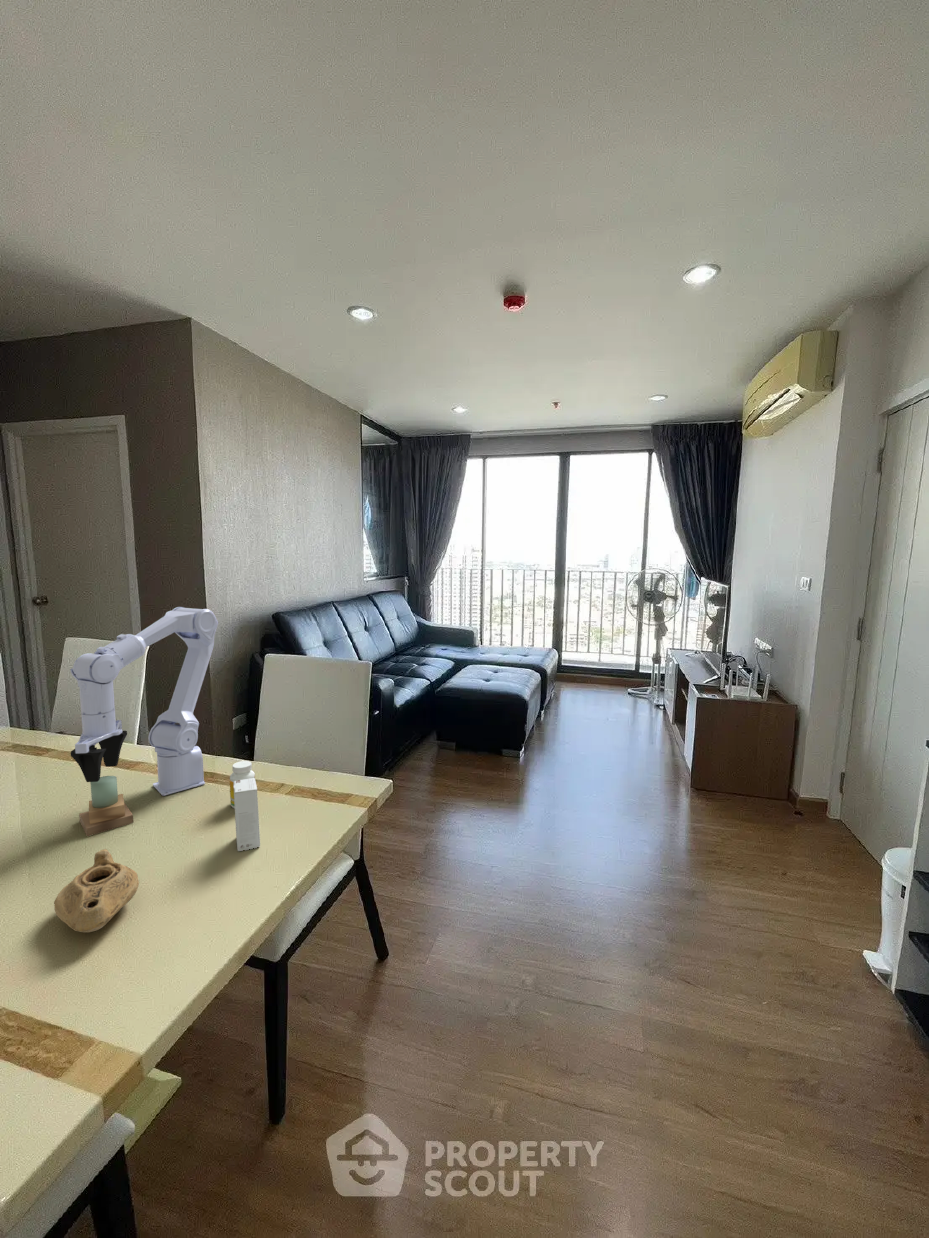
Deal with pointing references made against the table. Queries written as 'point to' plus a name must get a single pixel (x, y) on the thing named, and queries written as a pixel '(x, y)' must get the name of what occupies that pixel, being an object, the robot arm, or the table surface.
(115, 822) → the base block
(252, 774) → the supplement bottle
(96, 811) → the top block
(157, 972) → the table surface
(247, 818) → the skincare box
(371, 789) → the table surface
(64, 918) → the oil lamp
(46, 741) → the table surface
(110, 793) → the green cylinder
